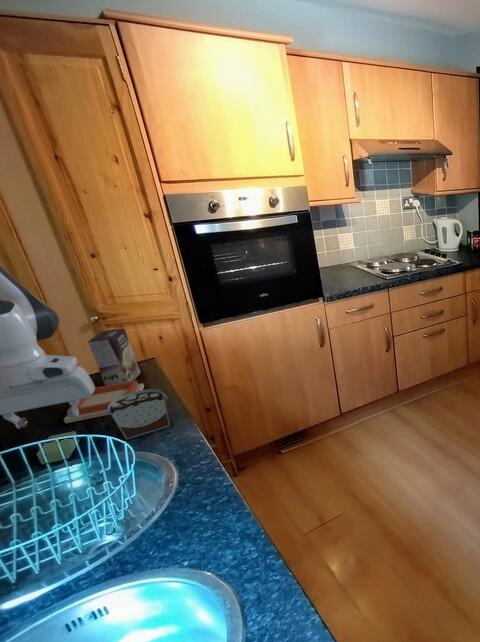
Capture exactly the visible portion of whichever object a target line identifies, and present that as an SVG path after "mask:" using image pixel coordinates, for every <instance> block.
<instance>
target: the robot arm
mask: <svg viewBox="0 0 480 642" xmlns="http://www.w3.org/2000/svg"><path fill="white" fill-rule="evenodd" d="M59 325H60V318H59V316H58V314H57V312H56V311H55V310H54V309H53V308H52V307H51V306H50V305H49V304H47V302H45V301H43V300H42V299H40V298H39V297H38V296H35V295H34V294H33V293H32V292H31V291H29V289H27V287H25V286H24V285H23V284H22V283H21V282H20V281H18V280H17V279H16V278H15V277H14V276H12V274H10V273H9V272H8V271H7V270H6V269H5V268H4V267H2V266H1V265H0V416H2V417H3V419H4V420H6V421H8V422H10V423H12V424H14V426H15V427H16V429H22V428H26V427H28V425H29V422H28V420H27V417H20V416H18V415H17V414H15V413H18V412H24V411H29V410H34V409H38V408H43V407H49V406H53V405H58V404H63V403H68V404H69V406H71V405H73V407H72V408H70V407H69V408H70V409H69V408H68V409H69V410H68V409H67V410H66V413H67V414H68V415H69V417H70V418H71V417H76V416H78V415H79V411H78V408H77V407H78V404H79V401H80V399H85V398H89V397H90V396H91V395H92V394H93V392H94V391H95V388H96V386H95V383H94V381H93V380H92V378H91V377H90V375H89V373H88V372H87V370H86V369H85V368H83V367H81V366H79V365H78V364H79V361H78V358H77V357H76V356H73V355H72V356H71V355H56V354H55V355H54V354H46V353H45V351H44V349H43V348H42V347H41V346H40V345H39V342H38V341H43V340H47V339H49V338H52V337H53V335H54V334H55V333H56V331H57V330H58V328H59ZM67 414H66V415H67Z"/></svg>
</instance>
